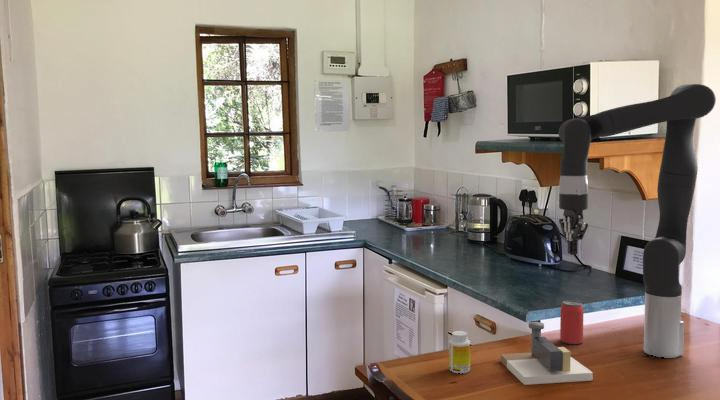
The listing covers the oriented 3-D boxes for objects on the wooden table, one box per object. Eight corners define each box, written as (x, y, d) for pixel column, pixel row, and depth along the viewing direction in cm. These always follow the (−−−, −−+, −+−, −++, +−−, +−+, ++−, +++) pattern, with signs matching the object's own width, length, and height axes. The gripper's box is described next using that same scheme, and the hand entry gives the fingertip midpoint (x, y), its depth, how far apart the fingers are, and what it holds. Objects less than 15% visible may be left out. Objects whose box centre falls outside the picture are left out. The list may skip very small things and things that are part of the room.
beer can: (584, 345, 182) (585, 305, 181) (561, 344, 183) (561, 305, 182) (581, 338, 188) (581, 300, 187) (558, 337, 189) (559, 299, 188)
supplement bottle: (474, 372, 162) (474, 334, 161) (457, 375, 159) (457, 337, 158) (462, 365, 167) (462, 328, 166) (445, 369, 164) (444, 331, 163)
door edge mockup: (562, 357, 172) (563, 319, 171) (592, 380, 155) (593, 337, 154) (500, 361, 169) (500, 322, 168) (524, 384, 153) (524, 341, 152)
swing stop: (533, 355, 165) (533, 337, 165) (544, 354, 165) (544, 336, 165) (550, 371, 153) (550, 351, 153) (562, 370, 153) (562, 351, 153)
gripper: (550, 190, 175) (549, 250, 177) (571, 194, 162) (570, 259, 163) (575, 190, 176) (574, 249, 177) (598, 193, 163) (597, 258, 164)
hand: (572, 254), depth 170 cm, fingers closed
